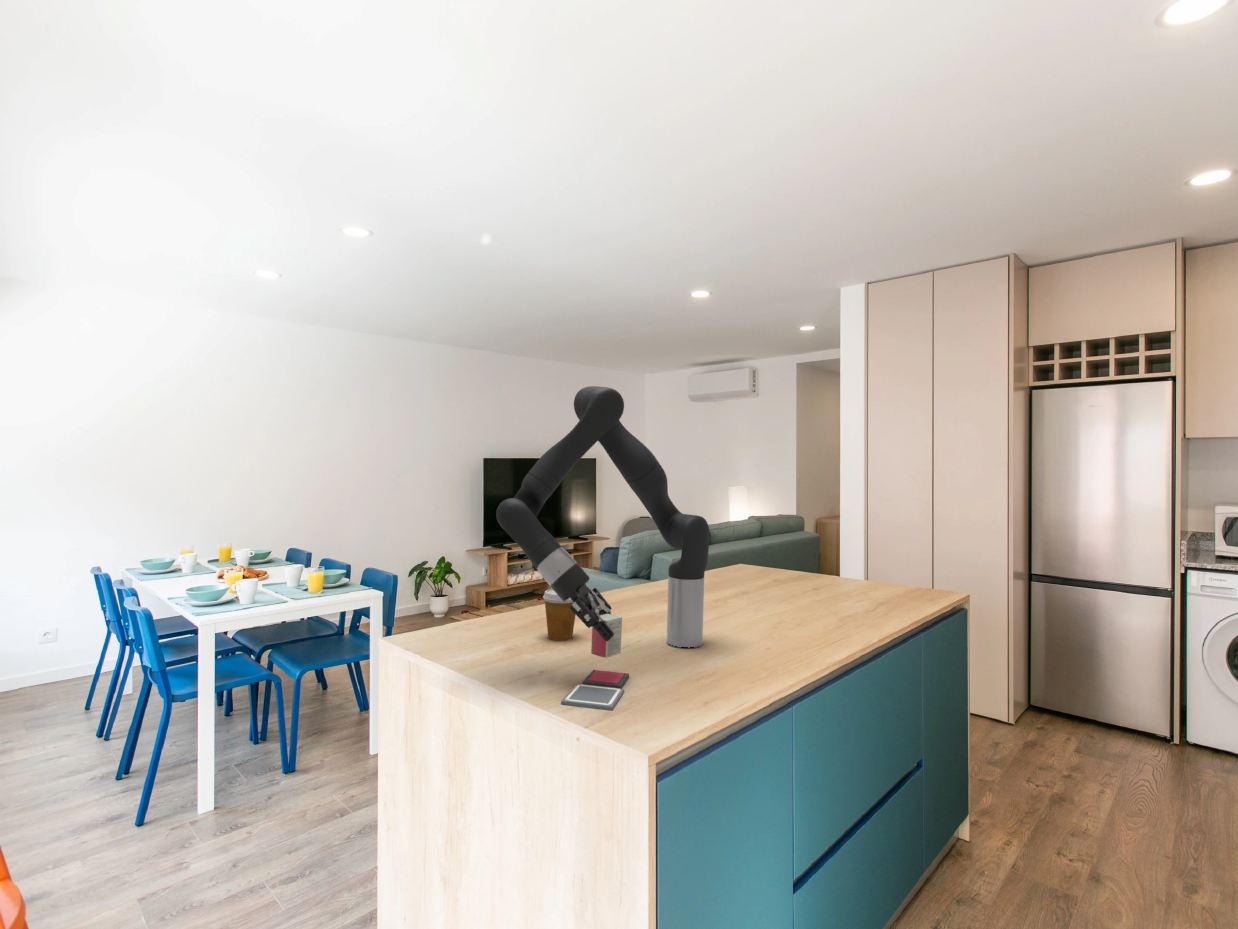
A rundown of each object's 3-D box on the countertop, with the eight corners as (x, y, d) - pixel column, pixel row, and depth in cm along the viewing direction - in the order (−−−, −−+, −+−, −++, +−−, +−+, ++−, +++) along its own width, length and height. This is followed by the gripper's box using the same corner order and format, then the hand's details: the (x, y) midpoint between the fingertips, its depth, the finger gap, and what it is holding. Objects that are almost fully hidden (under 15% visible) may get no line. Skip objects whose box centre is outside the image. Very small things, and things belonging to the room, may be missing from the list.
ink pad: (593, 673, 139) (593, 668, 139) (629, 677, 137) (629, 672, 137) (582, 685, 131) (582, 680, 131) (620, 689, 129) (620, 684, 129)
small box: (605, 649, 138) (607, 612, 138) (621, 653, 135) (622, 616, 135) (590, 654, 134) (591, 616, 134) (605, 658, 131) (607, 620, 131)
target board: (576, 686, 131) (576, 683, 131) (624, 692, 128) (624, 688, 128) (560, 704, 121) (561, 700, 121) (612, 710, 119) (612, 706, 119)
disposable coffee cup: (581, 633, 171) (582, 589, 171) (575, 643, 162) (576, 596, 162) (546, 631, 172) (547, 587, 172) (538, 641, 163) (539, 594, 163)
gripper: (564, 567, 129) (619, 631, 126) (584, 557, 143) (634, 615, 140) (539, 591, 130) (592, 655, 127) (561, 579, 144) (610, 637, 141)
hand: (614, 634), depth 134 cm, fingers closed on small box, 6 cm apart
